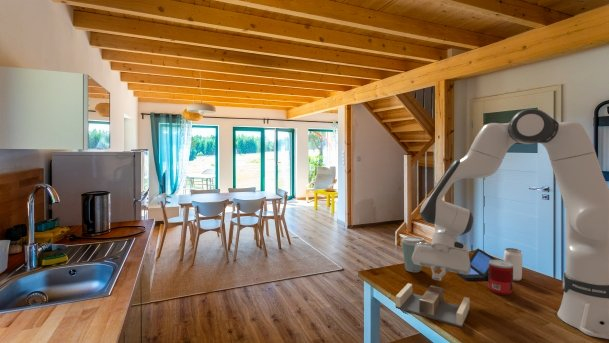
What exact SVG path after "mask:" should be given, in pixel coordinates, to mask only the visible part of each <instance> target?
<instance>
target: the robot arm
mask: <svg viewBox="0 0 609 343" xmlns="http://www.w3.org/2000/svg"><path fill="white" fill-rule="evenodd" d="M514 144H516V145H517V144H518V145H532V144H541V145H542V146H543V147H544V148H545V150H546V152H547V155H548V158H549V161H550V164H551V168H552V172H553V174H554V177H555V180H556V184H557V187H558V189H559V192H560V195H561V198H562V201H563V204H564V207H565V210H566V211H565V215H566V216H565V236H566V237H565V238H566V239H565V240H566V241H565V242H566V245H565V246H566V254H565V272H564V273H563V277H562V290H563V295H562V300H561V303H560V306H559V309H558V311H557V317H558V318H559V319H560V320H561V321H563V323H564V322H565V323H566V324H567V325H570V326H571V327H573V328H576V329H578V331H579V330H580V331H581V332H582V333H584V334H585V335H587V336H590V337H594V338H595V337H596V338H601V339H606V340H609V186H608V184H607V181H606V179H605V177H604V174H603V172H602V168H601V165H600V163H599V159H598V156H597V152H596V150H595V147H594V145H593V143H592V140H591V138H590V136H589V134H588V132H587V131H586V129H585V128H584V126H583V125H582V124H581V123H579V122H577V121H571V120H569V121H561V122H558V120H555V119H554V118H553V117H551V116H550V115H549V114H548V113H546V112H545V111H543V110H541V109H538V108H537V109H536V108H526V109H523V110H520V111H518V112H517V113H516V114H515V115H513V117H512V118H511V120H510V121H509V122H508V123H505V124H502V123H498V122H489V123H486V124H485V125H483V126H482V127H481V129H480V130H479V131H478V133H477V134H476V136H475V138H474V140H473V142H472V144H470V148H469V150H468V151H467V153H466V154H465V155H464V156H463V157H462V158H460V159H456V160H454V161H453V162H452V163H451V164H450V165H449V167H447V169H446V170H445V172H444V173H443V174H442V176H441V178H440V179H439V181H438V182H437V183H436V186H435V187H434V188H433V190H432V191H431V193H430V194H429V195H428V196H427V198H426V199H425V200H424V201H423V203H422V204H421V207H420V210H419V215H420V217H421V219H422V220H423V222H425V223H428V224H432V225H434V230H435V231H434V233H433V235H432V239H431V243H429V242H426V243H423V242H420V243H417V244H416V245H415V248H414V252H413V255H412V261H413V263H414V264H416V265H421V267H425V268H426V267H427V268H430V269H431V272H432V274H431V279H432V280H435V281H442V278H443V277H444V276H445V275H446V274H447V272H450V273H455V274H457V273H460V274H465V275H468V274H469V273H470V251H469V247H468V246H467V244H465V243H462V242H461V241H458V236H463V235H465V234H466V235H467V233H468V234H469V232H470V231H471V230H472V228H473V223H474V216H473V213H472V211H471V210H470V209H468V208H465V207H463V206H460V205H456V204H453V203H452V202H451V203H450V202H447V201H445V200H443V198H444V197H445V195H446V194H447V192H448V191H449V190H450V188H451V186H452V185H453V183H455V182H457V181H459V180H462V179H483V178H487V177H490V176H492V175H494V174H495V173H496V172H497V171H498V169H499V168H500V167H501V165H502V163H503V160H504V158H505V156H506V154H507V153H508V150H509V149H510V148H511V147H512V146H513V145H514ZM436 270H441V272H440V273H437V272H435V271H436Z"/></svg>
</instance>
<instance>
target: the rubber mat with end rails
mask: <svg viewBox="0 0 609 343" xmlns="http://www.w3.org/2000/svg"><path fill="white" fill-rule="evenodd" d="M422 296H423V295H421V294H416V293H413V283H409V282H408V283H406V285H405V286H404V287H403V288H401V290H400V291H398V293H397V294H396V295H395V309H399V310H402V311H404V312H409V313H412V314H415V315H419V316H421V317H426V318H429V319H432V320H435V321H439V322H442V323H445V324H447V325H452V326H455V327H459V328H463V325H464V323H465V321H466V319H467V317H468V314H469V312H470V299H471V298H470V297H466V296H464V297H463V299H462V301H461V303H460V305H457V304H454V303H450V302H447V301H443V300H442V302H441V304H440V305H439V307H438V308H437V310H436V311H435V313H434V315H429V314H426V313H423V312H419V299H421V297H422Z"/></svg>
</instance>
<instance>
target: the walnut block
mask: <svg viewBox="0 0 609 343" xmlns="http://www.w3.org/2000/svg"><path fill="white" fill-rule="evenodd" d="M421 296H422V297H421V299H419V312H423V313H426V314H429V315H434V313H435V311H436V310H437V308H438V307H439V305H440V304H441V302H442V301H443V300H444V288H443V287H439V286H436V285H431V284H430V286H429V287H428V288H427V289H426V291H425V292H424V293H423V294H422V295H421Z"/></svg>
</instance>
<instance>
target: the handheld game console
mask: <svg viewBox="0 0 609 343" xmlns="http://www.w3.org/2000/svg"><path fill="white" fill-rule="evenodd" d="M469 259H470V273H469V274H468V275H465V274H460V273H456V274H457V275H459V276H460V278H461V279H463V280H465V281H487V280H488V276H489V261H490V260H497V258H495V257H493V256H492V255H490V254H488V253H487V252H485V251H484V250H482V249H480V248H476V249H475V250H474V252H473V254H472V255H471V257H469Z"/></svg>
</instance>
